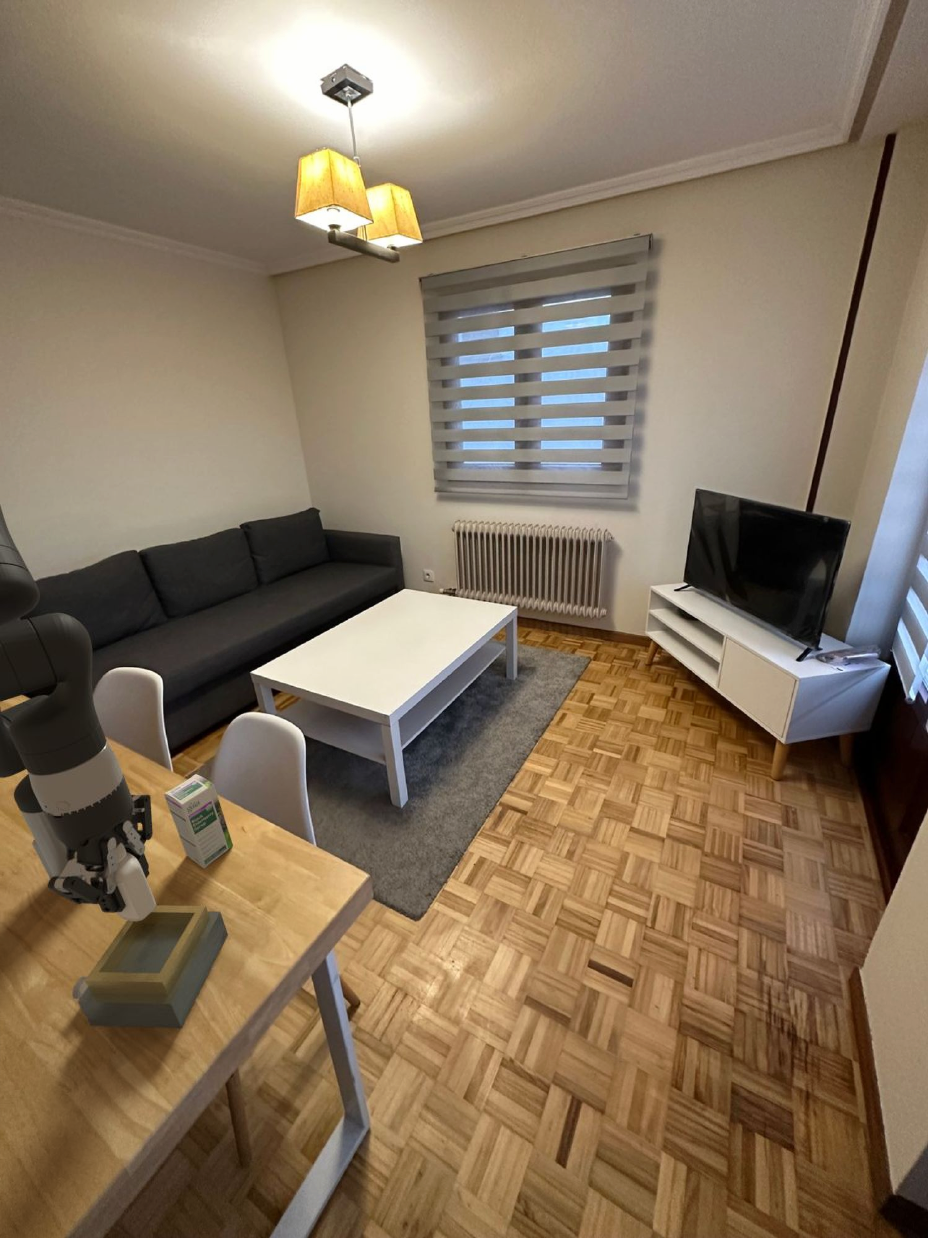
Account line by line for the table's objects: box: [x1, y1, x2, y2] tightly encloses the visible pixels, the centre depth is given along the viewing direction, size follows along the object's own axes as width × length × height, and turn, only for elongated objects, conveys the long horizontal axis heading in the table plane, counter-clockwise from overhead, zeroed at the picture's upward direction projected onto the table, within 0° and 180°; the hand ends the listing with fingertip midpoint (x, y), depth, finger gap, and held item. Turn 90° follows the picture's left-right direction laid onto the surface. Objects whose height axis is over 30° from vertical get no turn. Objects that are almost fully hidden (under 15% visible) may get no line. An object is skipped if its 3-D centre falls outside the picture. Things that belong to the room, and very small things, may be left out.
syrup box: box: [163, 773, 234, 869], centre depth 84 cm, size 6×6×14 cm
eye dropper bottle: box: [101, 843, 157, 921], centre depth 59 cm, size 4×6×12 cm
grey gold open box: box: [71, 904, 229, 1029], centre depth 65 cm, size 15×12×8 cm
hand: (128, 892), depth 60 cm, fingers closed on eye dropper bottle, 3 cm apart
